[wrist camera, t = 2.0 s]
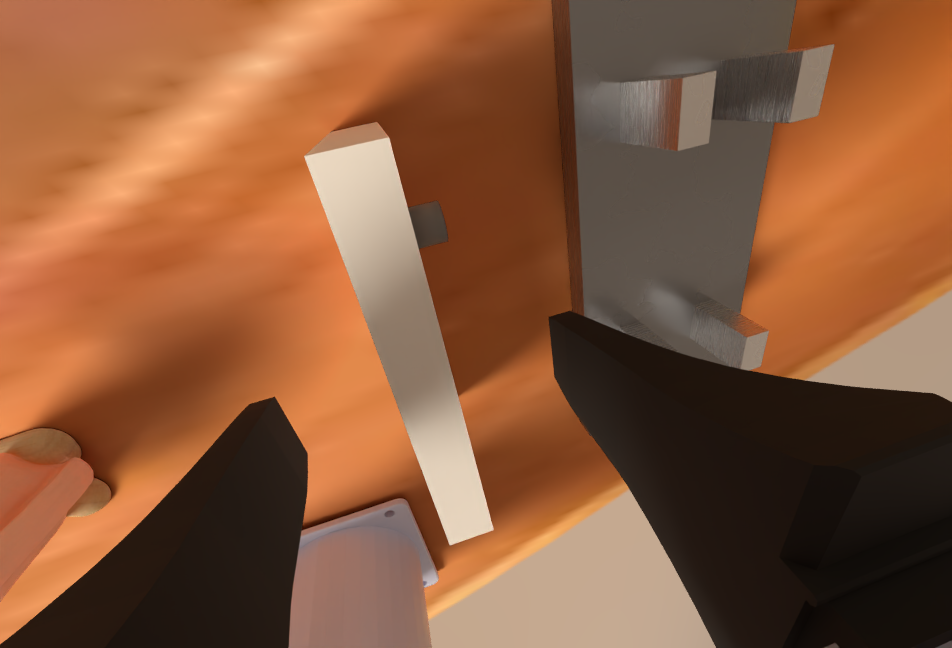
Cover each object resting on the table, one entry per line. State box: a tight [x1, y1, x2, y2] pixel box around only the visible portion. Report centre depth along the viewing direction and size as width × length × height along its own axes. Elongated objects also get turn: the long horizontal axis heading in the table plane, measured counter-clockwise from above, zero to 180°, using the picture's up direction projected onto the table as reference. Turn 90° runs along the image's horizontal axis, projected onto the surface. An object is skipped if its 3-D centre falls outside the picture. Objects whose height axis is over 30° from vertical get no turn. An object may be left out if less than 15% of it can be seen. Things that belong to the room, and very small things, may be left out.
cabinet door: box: [304, 122, 494, 545], centre depth 13 cm, size 2×12×7 cm, turn 10°
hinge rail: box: [552, 0, 835, 436], centre depth 16 cm, size 8×20×4 cm, turn 10°
